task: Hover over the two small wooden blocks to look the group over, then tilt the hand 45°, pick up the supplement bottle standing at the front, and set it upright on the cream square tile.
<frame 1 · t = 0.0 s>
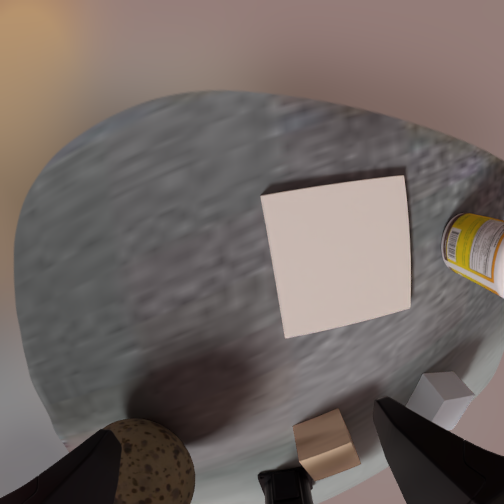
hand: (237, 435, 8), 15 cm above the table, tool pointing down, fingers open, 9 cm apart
cream square tile: (343, 255, 22), on the table
pale grey block: (429, 389, 26), on the table
decorative egg: (153, 429, 26), on the table
supplement bottle: (458, 240, 22), on the table
birch block: (322, 429, 26), on the table
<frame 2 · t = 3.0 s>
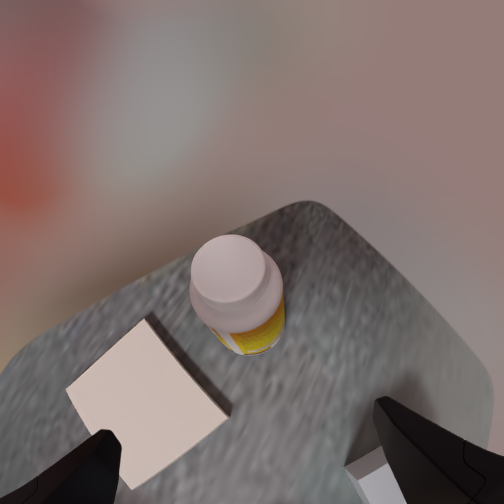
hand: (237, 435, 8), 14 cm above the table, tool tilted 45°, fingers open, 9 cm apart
cream square tile: (139, 407, 21), on the table
pale grey block: (383, 473, 16), on the table
supplement bottle: (251, 324, 24), on the table
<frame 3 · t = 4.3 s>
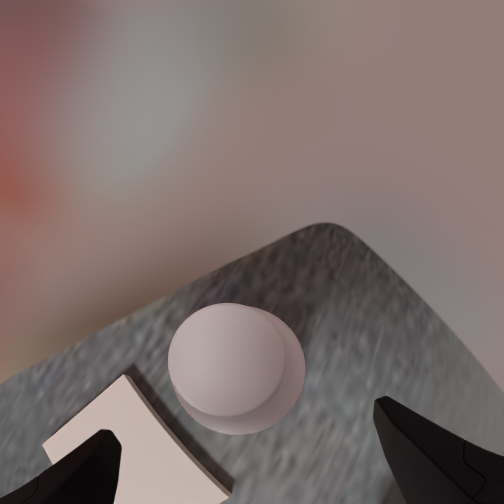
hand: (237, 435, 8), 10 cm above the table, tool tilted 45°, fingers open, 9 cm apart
cream square tile: (124, 473, 15), on the table
supplement bottle: (256, 386, 18), on the table
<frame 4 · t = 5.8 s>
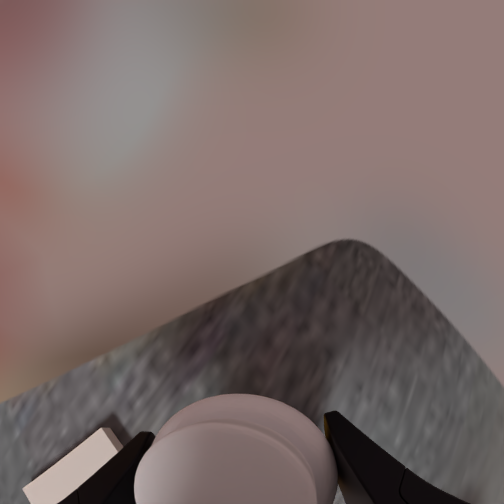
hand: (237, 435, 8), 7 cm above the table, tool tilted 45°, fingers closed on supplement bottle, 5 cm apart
supplement bottle: (262, 448, 13), on the table, touching gripper
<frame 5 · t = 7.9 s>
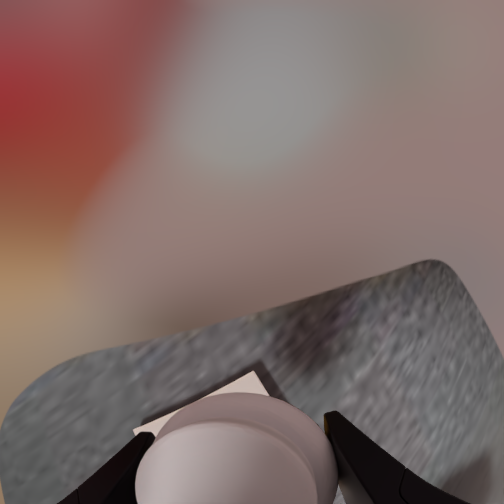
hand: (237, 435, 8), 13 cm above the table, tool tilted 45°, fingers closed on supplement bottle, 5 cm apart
cream square tile: (228, 463, 18), on the table
supplement bottle: (263, 447, 13), point 6 cm above the table, touching gripper
when the fingers open (8 cm above the table, at t = 9.8 s): supplement bottle stays where it is, resting on cream square tile.
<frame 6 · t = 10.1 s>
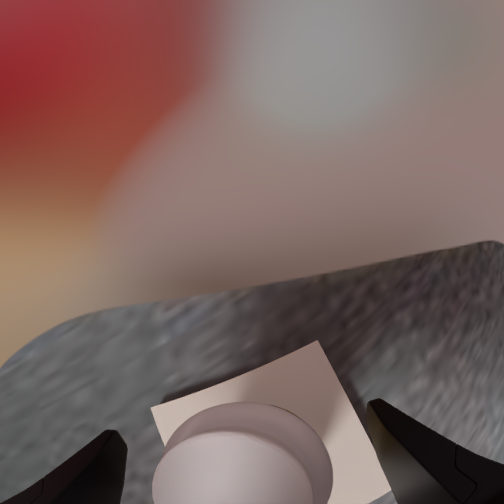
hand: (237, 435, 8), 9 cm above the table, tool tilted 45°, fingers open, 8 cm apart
cream square tile: (270, 458, 14), on the table
supplement bottle: (263, 449, 14), point 1 cm above the table, touching cream square tile
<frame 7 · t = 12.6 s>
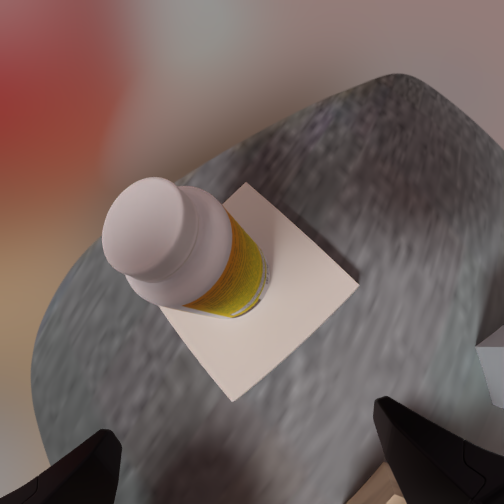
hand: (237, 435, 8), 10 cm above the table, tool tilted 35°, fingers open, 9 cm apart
cream square tile: (243, 288, 20), on the table
supplement bottle: (232, 279, 20), point 1 cm above the table, touching cream square tile
birch block: (387, 497, 13), on the table
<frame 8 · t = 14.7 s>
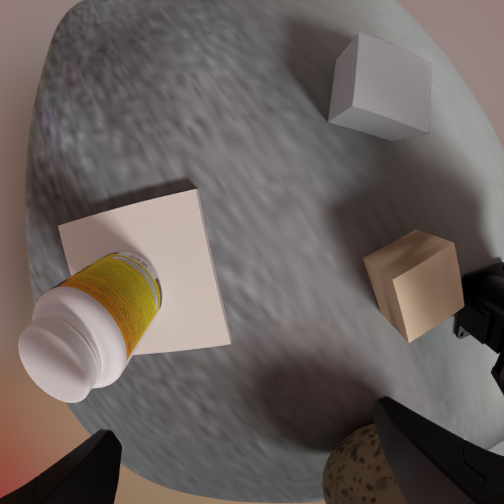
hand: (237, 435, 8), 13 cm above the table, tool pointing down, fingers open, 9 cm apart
cream square tile: (142, 281, 20), on the table
pale grey block: (364, 100, 18), on the table
decorative egg: (361, 433, 25), on the table
supplement bottle: (129, 286, 20), point 1 cm above the table, touching cream square tile
birch block: (398, 271, 21), on the table
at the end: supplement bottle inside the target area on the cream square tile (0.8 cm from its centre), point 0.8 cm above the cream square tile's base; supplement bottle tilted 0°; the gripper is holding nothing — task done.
